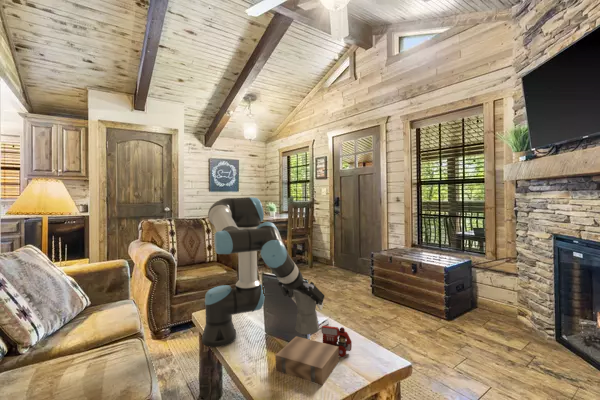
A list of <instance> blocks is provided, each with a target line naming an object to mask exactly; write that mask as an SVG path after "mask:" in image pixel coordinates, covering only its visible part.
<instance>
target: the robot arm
mask: <svg viewBox="0 0 600 400" xmlns="http://www.w3.org/2000/svg"><path fill="white" fill-rule="evenodd" d="M207 218H208V220H209V222H210V223H211V225H213V226H214V229H215V231H216V232H215V233H214V237H213V239H214V241H213V243H214V250H215V253H216V255H217V254H218V255H230V254H238V280H237V281H236V283H235V287H234V288H232V287H231V285H228V284H227V285H226V284H225V285H223V284H222V285H218V286H214V287H212V288H210V289H208V290H207V291H206V293H205V296H204V305H205V307H204V308H205V326H204V330H203V333H202V336H201V342H202V344H203V345H204V346H205V347H210V348H219V347H224V346H227V345H229V344H232V343H233V342H234V341H235V340H236V339H237V330H236V328H235V325H234V323H233V315H238V314H246V313H250V312H251V313H253V312H256V311H259V310H261V309H263V308H262V307H263V306H264V303H265V297H266V296H264V294H263V290H262V285H263V284H261V281H260V280H259V279H258V252H260V256H261V258H262V260H263V261H264V264H266V266H268V268H269V269H270V270H271V271H272V273H273V274H274V275H275V277H276V278H277V279H278V282H277V285H278V287H280V290H281V292H282V294H283V296H284V297H287V296H288V298H290V299H291V300H292V301H293V302H294V303H295V304H296V300H295V295H294V290H297V291H300V292H301V293H302V294H306V295H308V296H310V297H311V298H312V299H313V300H315V304H316V308H318V310H319V311H322V310H323V307H324V299H325V294H324V293H323V292H321V290H320V289H319V288H318V287H317V286H316V285H315V283H314V282H312V281H310V283H309V282H308V283H306V282H307V281H305V280H304V277H303V274H302V272H301V271H300V269H299V267H298V266H297V264H296V263H295V262H294V260H293V259H292V257H291V255H290V254H289V252H288V249H287V247H286V245H285V243H284V241H283V238H282V237H281V233H280V231H279V230H278V227H277V226H276V225H275V223H273V222H271V221H264V218H265V213H264V208H263V204H262V202H261V200H260V199H259V198H258V197H250V196H247V197H226V198H225V197H224V198H222V199H219V200H217V201H215V202H214V203H212V205H211V206H210V208H209V209H208V213H207ZM263 221H264V222H263ZM262 222H263V223H262ZM311 295H312V296H311Z"/></svg>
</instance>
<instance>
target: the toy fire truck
mask: <svg viewBox="0 0 600 400" xmlns="http://www.w3.org/2000/svg"><path fill="white" fill-rule="evenodd" d="M321 334H322V343H326V344H330V345H334V346H338V347H339V358H344V357H345V356H346V355H347V352H351V351H352V339H351V338H350V336H349V335H350V334H349V333H348V332H347V331H346V329H345V328H344V327H340V328H339V327H337V326H330V325H322V326H321Z"/></svg>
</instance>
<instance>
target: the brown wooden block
mask: <svg viewBox="0 0 600 400" xmlns="http://www.w3.org/2000/svg"><path fill="white" fill-rule="evenodd" d="M274 358H275V360H274V361H275V371H276V372H278V373H281V374H285V375H286V376H287V375H288V376H291V377H294V378H296V379H300V380H304V381H306V382H309V383H313V384H315V385H319V386H323V385H324V384H325V382H326V381H327V380H328V378H329V376H330V375H331V374H332V372H333V371H334V369H335V368H336V366H337V365H338V363H339V361H340V360H339V359H340V356H339V347H338V346H334V345H330V344H326V343H323V341H322V342H321V341H317V340H313V339H309V338H305V337H300V336H297V335H296V336H295V337H293V338H292V339H291V340H290V341H289V342H288V343H287V344H286V345H284V347H283V348H282V349H280V350H279V351H278V352H277V353H276V354H275V357H274Z"/></svg>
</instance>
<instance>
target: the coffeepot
mask: <svg viewBox="0 0 600 400" xmlns="http://www.w3.org/2000/svg"><path fill="white" fill-rule="evenodd" d="M305 282H306V283H308V284H309V282H308V281H305ZM293 293H294V295H295V300H296V303H295V305H296V308H297V313H296V323H295V328H294V330H295V331H296V332H297V333H298V334H301V335H313V334H315V333H317V332H318V331H319V329H320V325H319V324H320V323H319V319H318V314H317V311H316V308H317V305H316V304H315V300H313V299H312V298H311V297H310V296H308V295H306V294H302V293H301V292H300V291H297V290H294V291H293ZM311 296H312V295H311Z"/></svg>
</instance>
